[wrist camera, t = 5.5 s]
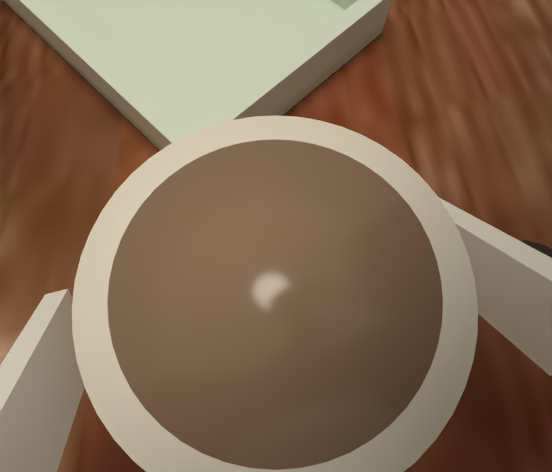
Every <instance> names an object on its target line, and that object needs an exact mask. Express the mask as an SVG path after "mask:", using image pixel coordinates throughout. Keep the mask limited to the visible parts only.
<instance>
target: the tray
mask: <svg viewBox="0 0 552 472" xmlns="http://www.w3.org/2000/svg"><path fill="white" fill-rule="evenodd" d="M3 1H4V2H5V3H6V4H7V5H8V6H9V7H10V8H12V9H13V10H14V11H15V12H16V13H17V14H18V15H19V16H20V17H21V18H22V19H23V20H24V21H25V22H26V23H27V24H28V25H29V26H30V27H31V28H32V29H34V30H35V31H36V32H37V33H38V34H39V35H40V36H41V37H42V38H43V39H44V40H45V41H46V42H47V43H48V44H49V45H50V46H51V47H52V48H53V49H54V50H55V51H57V52H58V53H59V54H60V55H61V56H62V57H63V58H64V59H65V60H66V61H67V62H68V63H69V64H70V65H71V66H72V67H73V68H74V69H75V70H76V71H77V72H79V73H80V74H81V75H82V76H83V77H84V78H85V79H86V80H87V81H88V82H89V83H90V84H91V85H92V86H93V87H94V88H95V89H96V90H97V91H98V92H99V93H100V94H102V95H103V96H104V97H105V98H106V99H107V100H108V101H109V102H110V103H111V104H112V105H113V106H114V107H115V108H116V109H117V110H118V111H119V112H120V113H121V114H122V115H124V116H125V117H126V118H127V119H128V120H129V121H130V122H131V123H132V124H133V125H134V126H135V127H136V128H137V129H138V130H139V131H140V132H141V133H142V134H143V135H144V136H146V137H147V138H148V139H149V140H150V141H151V142H152V143H153V144H154V145H155V146H156V147H157V148H158V149H159V150H160V151H161V150H162V149H164V148H165V147H167V146H168V145H170V144H172V143H173V142H175V141H177V140H179V139H181V138H183V137H185V136H187V135H188V134H191V133H193V132H196V131H198V130H201V129H203V128H206V127H208V126H212V125H215V124H219V123H223V122H226V121H230V120H235V119H241V118H247V117H255V116H274V115H276V116H282V115H284V114H285V113H286V112H287V111H288V110H290V109H291V108H292V107H293V106H294V105H296V104H297V103H298V102H299V101H300V100H302V99H303V98H304V97H305V96H307V95H308V94H309V93H310V92H311V91H313V90H314V89H315V88H316V87H317V86H319V85H320V84H321V83H322V82H323V81H325V80H326V79H327V78H328V77H329V76H331V75H332V74H333V73H334V72H335V71H337V70H338V69H339V68H340V67H341V66H343V65H344V64H345V63H346V62H347V61H349V60H350V59H351V58H352V57H354V56H355V55H356V54H357V53H358V52H360V51H361V50H362V49H363V48H364V47H366V46H367V45H368V44H369V43H370V42H372V41H373V40H374V39H375V38H376V37H378V36H379V35H380V34H381V33H382V31H383V28H384V25H385V21H386V18H387V15H388V12H389V8H390V5H391V2H392V0H3Z"/></svg>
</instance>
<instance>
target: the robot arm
mask: <svg viewBox="0 0 552 472" xmlns="http://www.w3.org/2000/svg"><path fill="white" fill-rule="evenodd" d="M438 198H439V197H438ZM439 199H440V198H439ZM440 201H441V202H442V203H443V205H444V206H445V208H446V209H447V210H448V212H449V214H450V216H451V218H452V219H453V221H454V223H455V225H456V227H457V229H458V231H459V232H460V235H461V237H462V240H463V243H464V245H465V248H466V250H467V253H468V255H469V259H470V263H471V267H472V271H473V275H474V279H475V285H476V294H477V302H478V314H479V315H480V316H481V317H483V318H484V319H485V320H486V321H487V322H488V323H489V324H491V325H492V326H493V327H494V328H495V329H496V330H498V331H499V332H500V333H501V334H502V335H503V336H504V337H506V338H507V339H508V340H509V341H510V342H511V343H513V344H514V345H515V346H516V347H517V348H518V349H520V350H521V351H522V352H523V353H524V354H525V355H526V356H528V357H529V358H530V359H531V360H532V361H533V362H535V363H536V364H537V365H538V366H539V367H540V368H541V369H543V370H544V371H545V372H546V373H547V374H548V375H550V376H552V249H550V248H548V247H547V246H545V245H542V244H538V243H534V242H530V241H527V240H523V241H519V240H517V239H515V238H513V237H511V236H510V235H508V234H506V233H504V232H502V231H500V230H498V229H496V228H495V227H493V226H491V225H489V224H487V223H485V222H483V221H482V220H480V219H478V218H476V217H474V216H472V215H470V214H468V213H467V212H465V211H463V210H461V209H459V208H457V207H455V206H453V205H452V204H450V203H448V202H446V201H444V200H442V199H440ZM72 301H73V299H72V297H71V295H70V292H69V290H68V289H65V290H61V291H57V292H53V293H49V294H45V296H44V297H43V299H42V301H41V302H40V304H39V305H38V307H37V309H36V310H35V312H34V313H33V315H32V316H31V318H30V320H29V321H28V323H27V324H26V326H25V327H24V329H23V331H22V332H21V334H20V335H19V337H18V338H17V340H16V342H15V343H14V345H13V346H12V348H11V349H10V351H9V353H8V354H7V356H6V357H5V359H4V361H3V362H2V364H1V365H0V472H57V469H58V466H59V463H60V460H61V457H62V454H63V451H64V448H65V445H66V442H67V439H68V436H69V433H70V430H71V426H72V423H73V420H74V417H75V414H76V411H77V408H78V405H79V402H80V399H81V396H82V393H83V390H84V384H83V380H82V377H81V374H80V370H79V367H78V364H77V360H76V354H75V347H74V341H73V335H72Z"/></svg>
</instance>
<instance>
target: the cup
mask: <svg viewBox="0 0 552 472" xmlns="http://www.w3.org/2000/svg"><path fill="white" fill-rule="evenodd" d="M477 334H478V302H477V294H476V285H475V279H474V275H473V271H472V267H471V263H470V259H469V255H468V253H467V250H466V248H465V245H464V243H463V240H462V237H461V235H460V232H459V231H458V229H457V227H456V225H455V223H454V221H453V219H452V218H451V216H450V214H449V212H448V210H447V209H446V208H445V206H444V205H443V203H442V202H441V201H440V199H439V198H438V196H437V195H436V194H435V192H434V191H433V190H432V189H431V188H430V186H429V185H428V184H427V183H426V182H425V181H424V180H423V179H422V178H421V177H420V175H419V174H418V173H416V172H415V171H414V170H413V169H412V168H411V167H410V166H409V165H407V164H406V163H405V162H404V161H403V160H402V159H400V158H399V157H398V156H396V155H395V154H393V153H392V152H390V151H389V150H388V149H386V148H385V147H383V146H382V145H380V144H378V143H376V142H374V141H372V140H371V139H369V138H367V137H365V136H363V135H361V134H359V133H356V132H354V131H351V130H349V129H346V128H344V127H341V126H338V125H334V124H331V123H327V122H324V121H320V120H314V119H308V118H302V117H294V116H276V115H274V116H255V117H247V118H241V119H235V120H230V121H226V122H223V123H219V124H215V125H212V126H208V127H206V128H203V129H201V130H198V131H196V132H193V133H191V134H188V135H187V136H185V137H183V138H181V139H179V140H177V141H175V142H173V143H172V144H170V145H168V146H167V147H165V148H164V149H162V150H161V151H159V152H158V153H156V154H155V155H153V156H152V157H151V158H149V159H148V160H147V161H146V162H145V163H143V164H142V165H141V166H140V167H139V168H138V169H137V170H135V171H134V172H133V173H132V174H131V175H130V176H129V177H128V178H127V179H126V181H125V182H124V183H123V184H122V185H121V186H120V187H119V188H118V189H117V191H116V192H115V193H114V195H113V196H112V197H111V199H110V200H109V202H108V203H107V204H106V206H105V207H104V209H103V210H102V212H101V213H100V215H99V217H98V219H97V221H96V223H95V225H94V226H93V228H92V230H91V232H90V234H89V237H88V239H87V242H86V245H85V247H84V250H83V252H82V255H81V258H80V262H79V266H78V270H77V274H76V278H75V284H74V292H73V301H72V335H73V341H74V347H75V354H76V360H77V364H78V367H79V370H80V374H81V377H82V380H83V384H84V387H85V389H86V392H87V394H88V396H89V398H90V400H91V402H92V404H93V406H94V409H95V411H96V413H97V415H98V416H99V418H100V419H101V421H102V422H103V424H104V425H105V427H106V428H107V430H108V431H109V433H110V434H111V436H112V437H113V439H114V440H115V441H116V442H117V443H118V444H119V446H120V447H121V448H122V449H123V450H124V451H125V452H126V453H127V454H128V456H129V457H130V458H131V459H132V460H133V461H134V462H135V463H136V464H138V465H139V466H140V467H141V468H142V469H144V470H145V471H146V472H404V471H405V470H407V469H408V468H409V467H410V466H411V465H413V464H414V463H415V462H416V461H417V460H418V459H419V458H420V457H421V456H422V455H423V454H424V452H425V451H426V450H427V449H428V448H429V447H430V446H431V445H432V443H433V442H434V441H435V440H436V439H437V438H438V436H439V435H440V433H441V432H442V430H443V428H444V427H445V425H446V424H447V422H448V421H449V419H450V418H451V416H452V415H453V413H454V411H455V409H456V407H457V404H458V402H459V400H460V398H461V396H462V394H463V391H464V389H465V387H466V384H467V380H468V377H469V374H470V370H471V367H472V364H473V360H474V354H475V347H476V341H477Z"/></svg>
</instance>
